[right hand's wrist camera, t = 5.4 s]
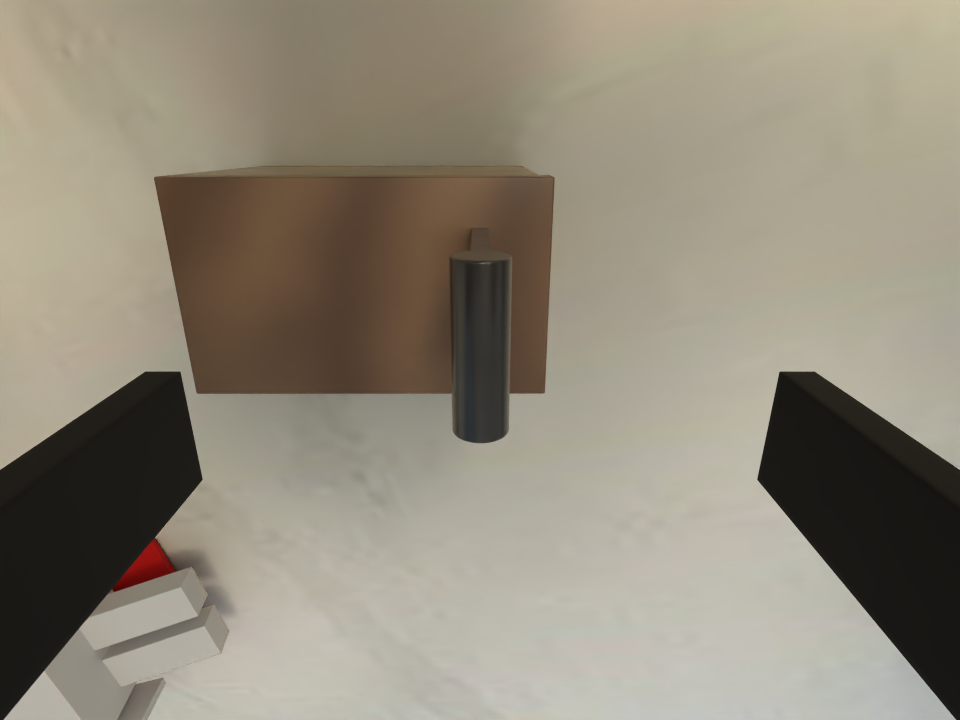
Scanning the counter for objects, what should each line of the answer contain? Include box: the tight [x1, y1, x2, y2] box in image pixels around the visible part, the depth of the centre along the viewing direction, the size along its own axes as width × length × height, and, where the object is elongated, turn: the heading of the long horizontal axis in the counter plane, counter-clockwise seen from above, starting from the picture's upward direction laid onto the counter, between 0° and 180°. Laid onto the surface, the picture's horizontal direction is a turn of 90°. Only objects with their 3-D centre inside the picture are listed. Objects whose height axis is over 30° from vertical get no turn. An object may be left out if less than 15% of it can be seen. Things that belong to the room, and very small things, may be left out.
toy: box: [4, 539, 229, 720], centre depth 41 cm, size 12×13×30 cm
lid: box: [154, 175, 554, 443], centre depth 21 cm, size 16×10×9 cm, turn 90°
